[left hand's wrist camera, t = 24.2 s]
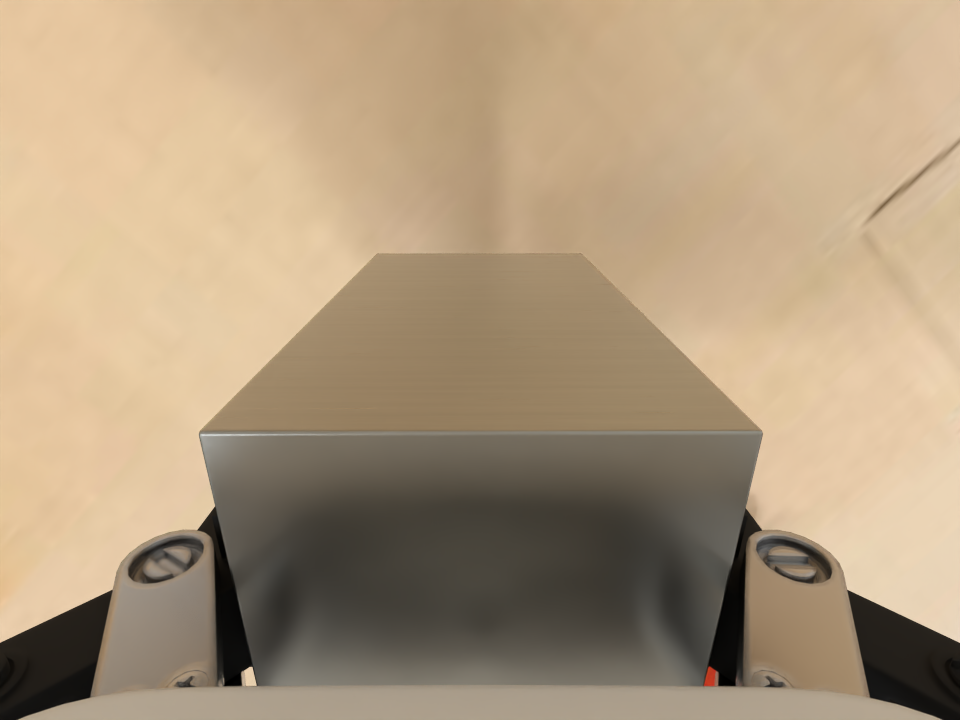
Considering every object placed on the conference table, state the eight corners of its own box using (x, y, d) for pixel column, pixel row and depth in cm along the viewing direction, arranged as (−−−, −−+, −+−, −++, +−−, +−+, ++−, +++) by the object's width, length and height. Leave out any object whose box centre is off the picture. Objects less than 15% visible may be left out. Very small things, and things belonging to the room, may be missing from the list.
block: (390, 439, 20) (281, 796, 9) (376, 253, 17) (195, 431, 6) (568, 439, 20) (679, 795, 9) (582, 253, 17) (764, 431, 6)
